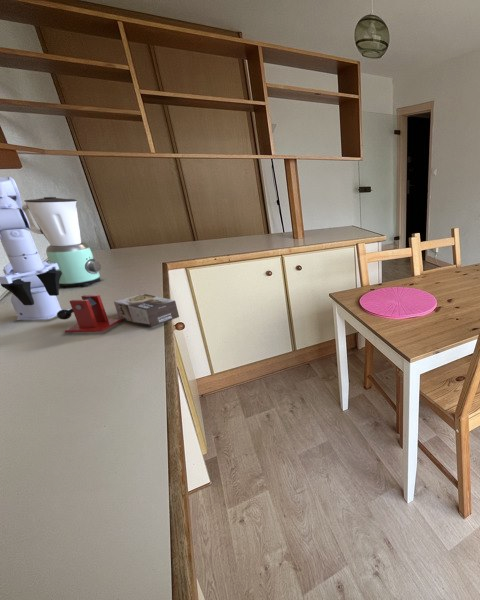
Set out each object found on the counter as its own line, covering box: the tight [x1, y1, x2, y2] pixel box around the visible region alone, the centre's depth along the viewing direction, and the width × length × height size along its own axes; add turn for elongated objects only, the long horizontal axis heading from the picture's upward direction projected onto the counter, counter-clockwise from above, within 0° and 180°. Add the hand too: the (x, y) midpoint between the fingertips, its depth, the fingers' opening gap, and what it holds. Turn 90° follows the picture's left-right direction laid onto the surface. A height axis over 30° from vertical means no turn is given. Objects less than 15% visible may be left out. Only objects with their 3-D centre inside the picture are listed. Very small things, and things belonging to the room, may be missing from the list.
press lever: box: [56, 297, 97, 320], centre depth 93 cm, size 11×3×3 cm, turn 96°
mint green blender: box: [21, 196, 102, 289], centre depth 126 cm, size 19×13×35 cm
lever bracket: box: [64, 294, 123, 334], centre depth 94 cm, size 10×8×10 cm
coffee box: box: [113, 293, 180, 328], centre depth 101 cm, size 9×6×16 cm
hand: (42, 299), depth 91 cm, fingers open, 7 cm apart
